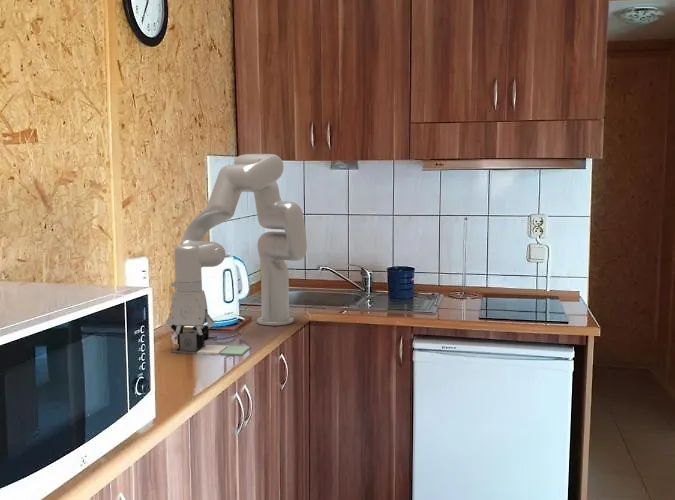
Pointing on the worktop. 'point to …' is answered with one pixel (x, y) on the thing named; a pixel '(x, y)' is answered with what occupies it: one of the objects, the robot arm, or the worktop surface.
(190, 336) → the dice cube
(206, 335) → the black angular block
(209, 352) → the game board
